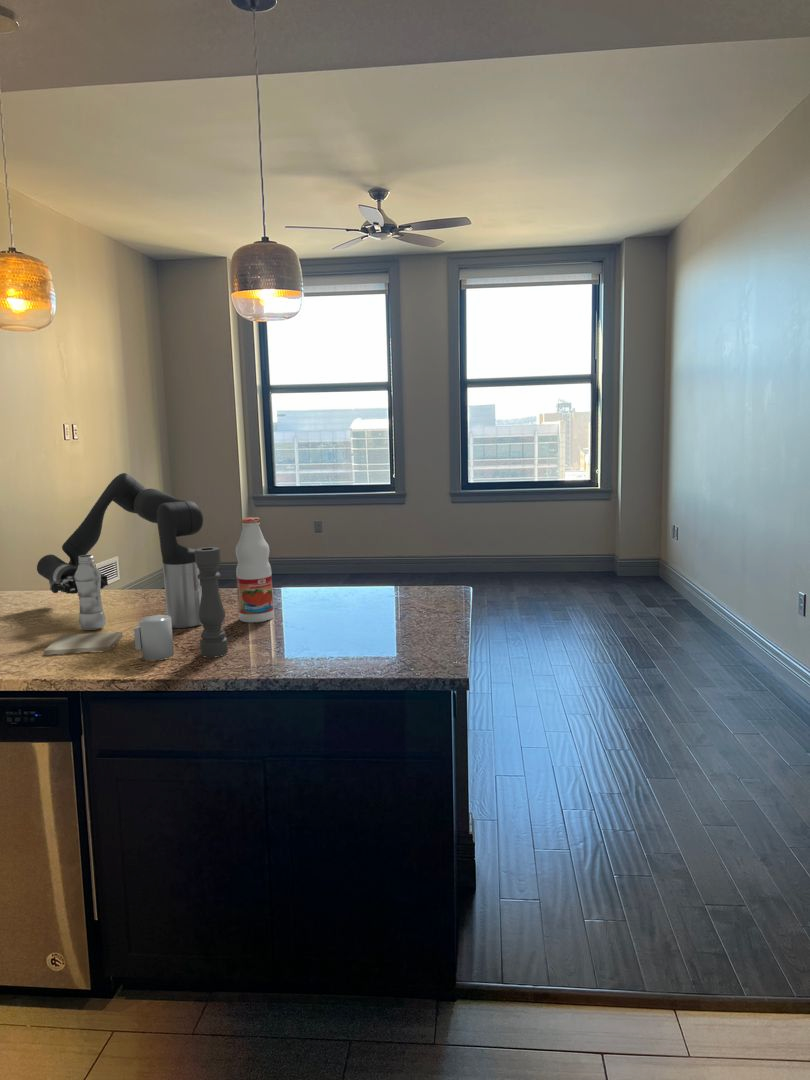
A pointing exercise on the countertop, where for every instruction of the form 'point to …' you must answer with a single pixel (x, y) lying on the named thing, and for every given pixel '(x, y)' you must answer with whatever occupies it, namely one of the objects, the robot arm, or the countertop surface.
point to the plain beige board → (83, 643)
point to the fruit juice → (253, 574)
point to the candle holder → (210, 603)
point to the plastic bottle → (89, 594)
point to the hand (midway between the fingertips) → (85, 587)
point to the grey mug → (154, 637)
